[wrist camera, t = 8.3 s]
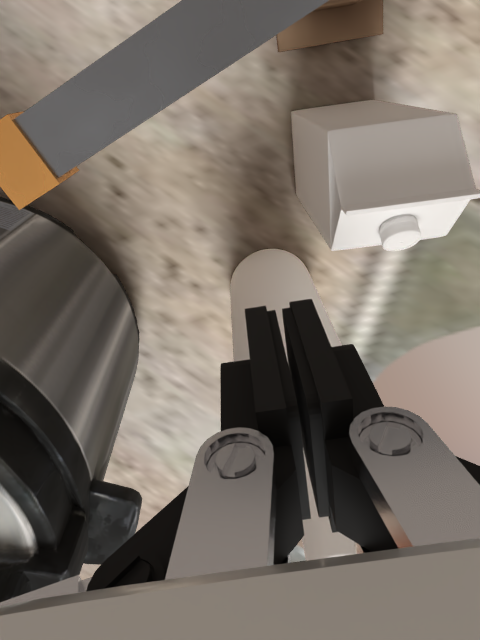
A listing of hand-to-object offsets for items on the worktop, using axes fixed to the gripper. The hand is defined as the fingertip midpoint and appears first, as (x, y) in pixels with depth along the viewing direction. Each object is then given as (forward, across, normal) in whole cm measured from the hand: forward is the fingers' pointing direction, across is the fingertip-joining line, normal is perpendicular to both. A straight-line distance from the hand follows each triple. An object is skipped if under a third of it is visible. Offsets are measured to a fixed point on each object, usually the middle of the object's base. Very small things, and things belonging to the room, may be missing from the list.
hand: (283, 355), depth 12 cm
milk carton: (+32, -8, +1) cm, 33 cm away
